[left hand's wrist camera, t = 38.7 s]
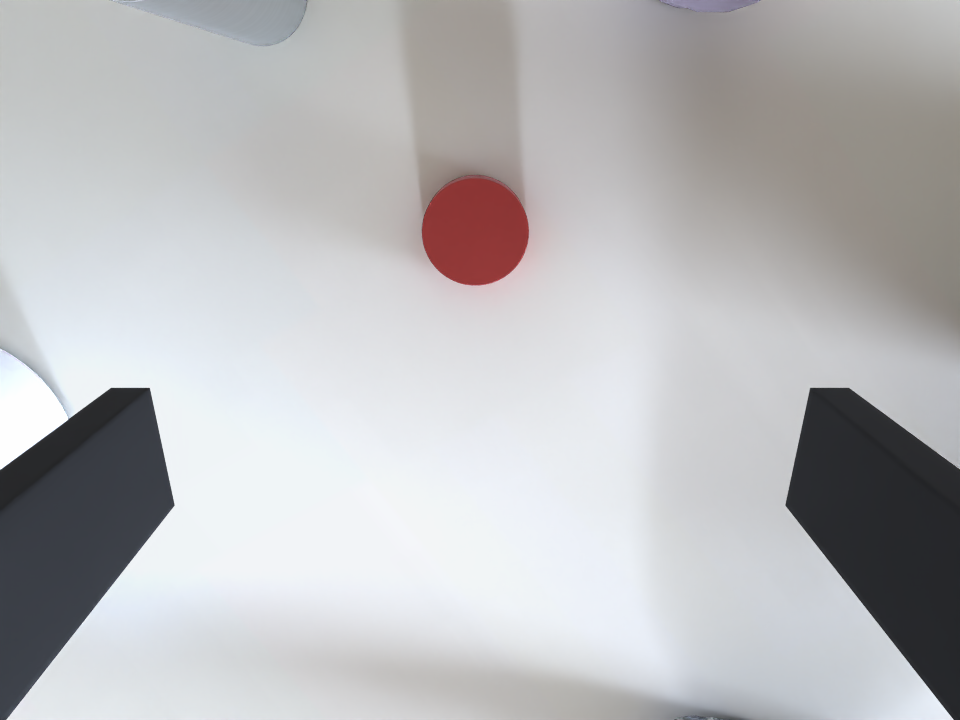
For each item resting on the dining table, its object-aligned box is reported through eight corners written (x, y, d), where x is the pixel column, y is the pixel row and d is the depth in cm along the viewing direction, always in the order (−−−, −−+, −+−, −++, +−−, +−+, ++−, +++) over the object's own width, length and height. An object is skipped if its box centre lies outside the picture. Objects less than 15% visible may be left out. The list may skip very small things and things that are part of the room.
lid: (422, 273, 39) (419, 281, 37) (426, 171, 36) (423, 174, 34) (521, 280, 39) (523, 289, 37) (531, 178, 36) (534, 182, 35)
